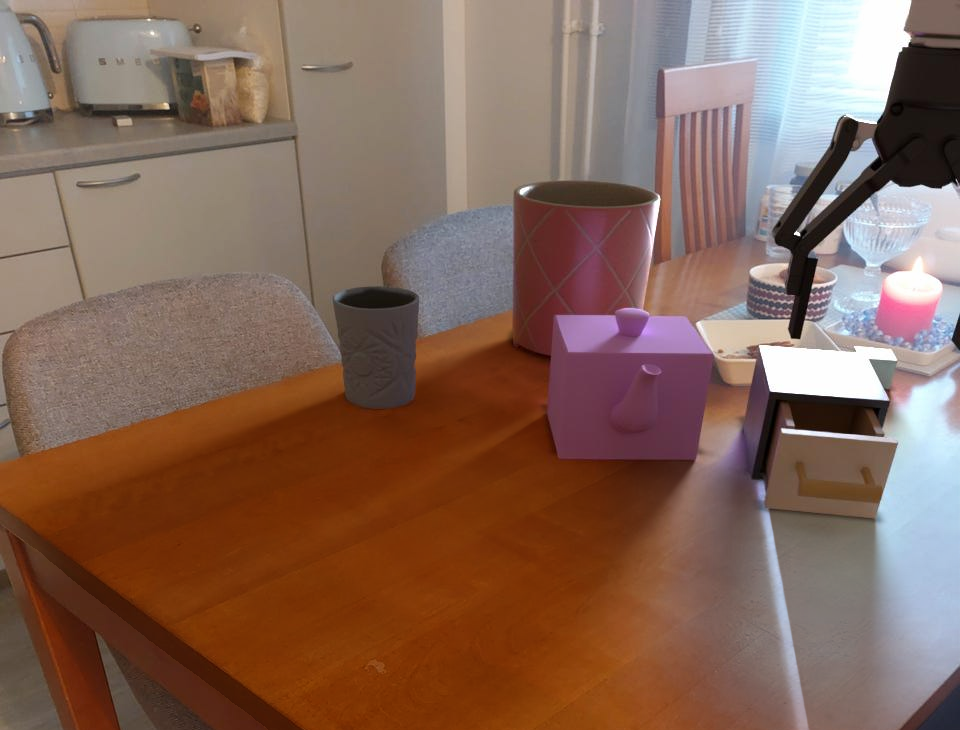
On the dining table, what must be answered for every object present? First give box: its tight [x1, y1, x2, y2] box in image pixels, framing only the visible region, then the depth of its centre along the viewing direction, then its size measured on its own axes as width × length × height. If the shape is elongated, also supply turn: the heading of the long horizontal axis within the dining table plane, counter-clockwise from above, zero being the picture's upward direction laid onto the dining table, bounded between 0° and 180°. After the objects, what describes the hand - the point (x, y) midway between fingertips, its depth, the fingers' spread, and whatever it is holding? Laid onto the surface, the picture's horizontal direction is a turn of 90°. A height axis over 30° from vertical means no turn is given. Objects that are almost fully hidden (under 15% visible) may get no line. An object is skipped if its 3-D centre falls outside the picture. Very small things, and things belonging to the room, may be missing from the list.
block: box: [852, 346, 899, 390], centre depth 119 cm, size 5×5×5 cm
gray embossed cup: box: [332, 285, 420, 410], centre depth 111 cm, size 10×10×12 cm
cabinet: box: [742, 345, 891, 481], centre depth 100 cm, size 15×12×10 cm
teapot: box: [546, 308, 715, 461], centre depth 101 cm, size 15×25×14 cm, turn 2°
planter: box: [511, 179, 661, 357], centre depth 126 cm, size 19×19×20 cm
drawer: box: [763, 399, 899, 519], centre depth 90 cm, size 19×10×8 cm, turn 170°
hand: (875, 340), depth 79 cm, fingers open, 13 cm apart
